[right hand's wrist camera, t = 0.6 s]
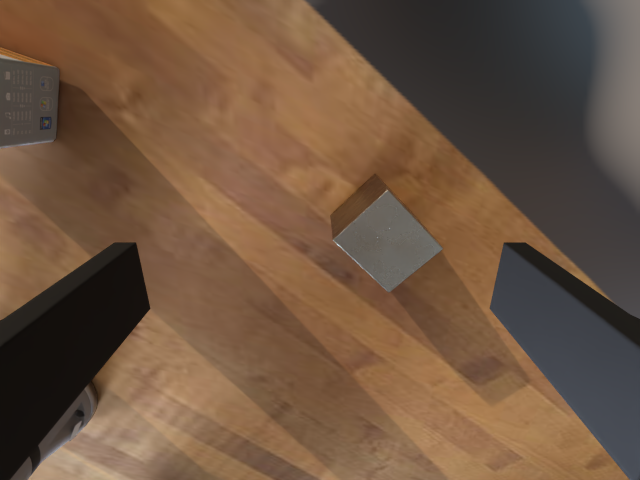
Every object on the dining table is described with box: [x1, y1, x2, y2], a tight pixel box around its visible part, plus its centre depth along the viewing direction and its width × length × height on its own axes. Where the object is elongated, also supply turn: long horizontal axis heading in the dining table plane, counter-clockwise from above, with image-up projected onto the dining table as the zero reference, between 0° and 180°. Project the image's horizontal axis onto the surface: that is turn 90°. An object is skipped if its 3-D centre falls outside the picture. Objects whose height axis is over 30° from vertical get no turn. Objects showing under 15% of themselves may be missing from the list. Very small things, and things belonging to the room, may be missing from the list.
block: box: [331, 174, 443, 292], centre depth 37 cm, size 8×7×8 cm
